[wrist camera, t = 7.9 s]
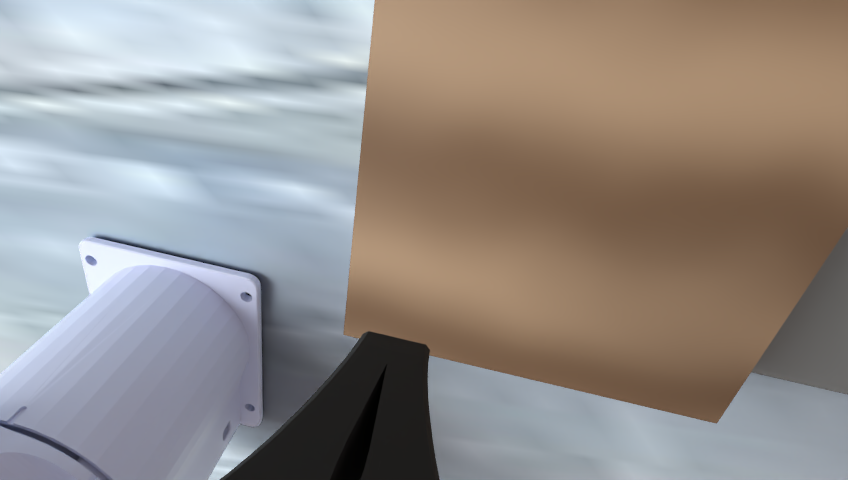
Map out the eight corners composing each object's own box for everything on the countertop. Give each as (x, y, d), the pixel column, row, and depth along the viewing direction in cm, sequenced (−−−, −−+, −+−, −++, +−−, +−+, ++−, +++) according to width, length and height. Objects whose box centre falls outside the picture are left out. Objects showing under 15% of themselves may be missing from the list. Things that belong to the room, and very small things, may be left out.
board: (692, 352, 22) (716, 423, 19) (369, 277, 22) (343, 334, 19) (919, -48, 14) (1021, -34, 11) (418, -136, 15) (388, -144, 12)
